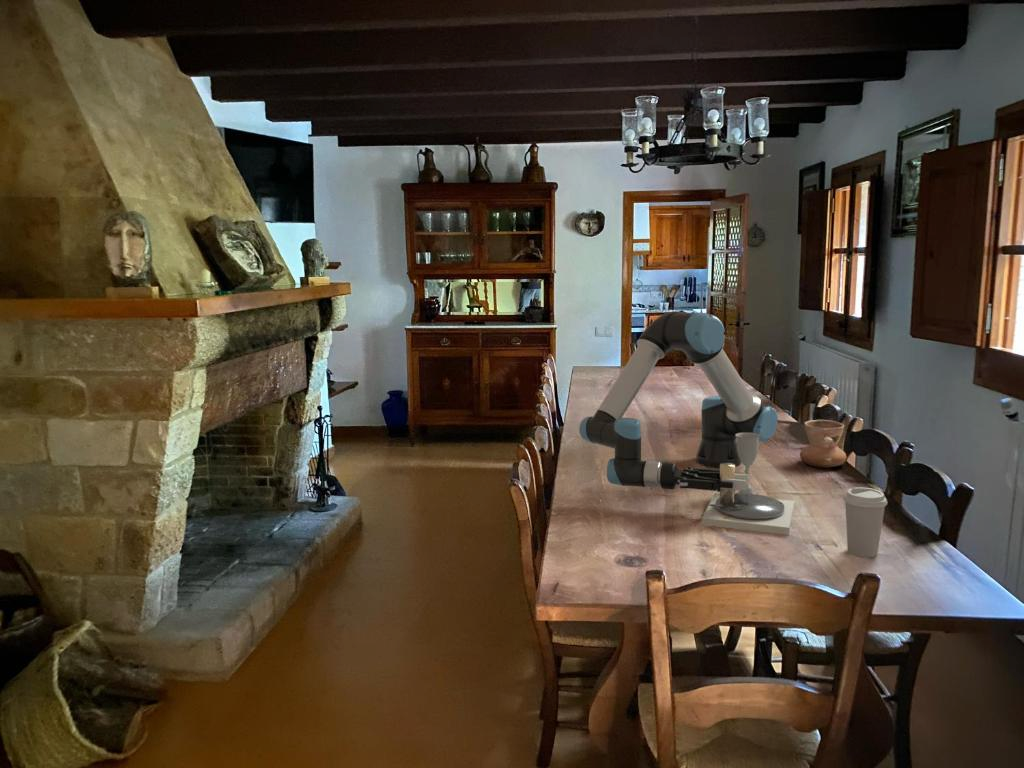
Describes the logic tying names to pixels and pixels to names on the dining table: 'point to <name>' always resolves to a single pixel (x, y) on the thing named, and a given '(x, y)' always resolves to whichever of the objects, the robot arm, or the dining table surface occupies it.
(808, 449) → the ceramic jug
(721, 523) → the dial board
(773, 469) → the dining table surface
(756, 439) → the chalice
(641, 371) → the robot arm
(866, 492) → the coffee cup
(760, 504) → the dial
